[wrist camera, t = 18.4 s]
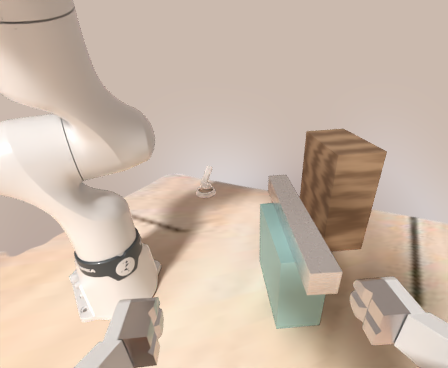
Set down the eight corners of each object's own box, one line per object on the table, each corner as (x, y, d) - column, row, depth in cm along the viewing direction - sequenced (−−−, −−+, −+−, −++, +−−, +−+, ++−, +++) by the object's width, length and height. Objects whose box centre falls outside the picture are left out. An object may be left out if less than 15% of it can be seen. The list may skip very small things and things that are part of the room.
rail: (337, 293, 32) (342, 271, 30) (307, 295, 32) (310, 273, 30) (285, 190, 57) (286, 174, 55) (268, 191, 57) (268, 175, 55)
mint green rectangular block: (319, 324, 45) (332, 259, 37) (276, 328, 45) (281, 263, 37) (291, 257, 60) (297, 201, 52) (259, 260, 60) (260, 204, 52)
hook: (225, 172, 94) (221, 169, 87) (215, 201, 94) (210, 201, 87) (207, 167, 96) (202, 163, 89) (197, 195, 96) (191, 194, 89)
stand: (360, 248, 61) (386, 151, 49) (321, 252, 61) (338, 155, 49) (329, 209, 77) (343, 128, 65) (298, 211, 77) (306, 131, 65)
